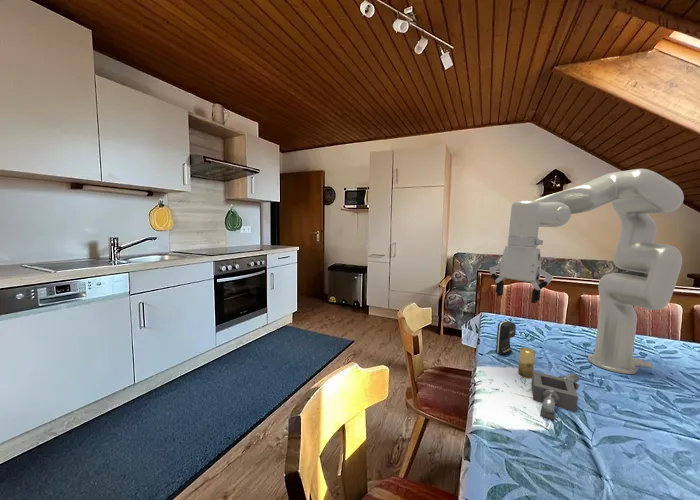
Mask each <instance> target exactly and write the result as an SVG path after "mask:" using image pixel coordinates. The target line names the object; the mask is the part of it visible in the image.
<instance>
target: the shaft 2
mask: <svg viewBox="0 0 700 500" xmlns="http://www.w3.org/2000/svg"><path fill="white" fill-rule="evenodd" d="M558 377H560V378H563V379H565V380H572V382H573V385H574V387H575V390H579V386H580V384H579V383H578V382H579V381H580V378H579V377H580V376H578V375H577V374H576V373H574V372H573V373H569V374H566V375H560V376H558Z"/></svg>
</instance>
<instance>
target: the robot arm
mask: <svg viewBox="0 0 700 500" xmlns="http://www.w3.org/2000/svg"><path fill="white" fill-rule="evenodd" d="M684 198H685V196H684V192H683V190H682V189H681V187H680V186H679V185H677V184H676V183H674V182H673V181H671V180H669V179H668V178H666V177H665V176H663V175H661V174H659V173H658V172H655V171H653V170H651V169H648V168H635V169H629V170H627V169H626V170H621V171H615V172H609V173H605V174H603V175H601V176H598V177H596V178H594V179H591V180H590V181H586V182H585V183H582V184H579V185H577V186H573V187H570V188H567V189H564V190H560V191H558V192H555V193H552V194H547V195H545V196H541V197H539V198H537V199H534V200H517V201H514V202H513V203H512V204H511V208H510V210H511V211H510V219H509V228H508V237H507V238H508V239H507V246H506V245H504V246H505V247H504V249H503V252H502V256H501V259H500V264H497V265H493V266H491V267H488V268H489V269H488V270H489V273H490V275H491V277H492V279H493V280H494V281H495V286H496V287H495V293H496V297H500V296H503V295H504V285H505V283H504V281H505V280H506V279H508V280H512V281H513V280H514V281H520V282H527V283H530V284H531V285H532V286H533V289H532V293H531V294H532V295H531V300H530V301H531V303H532V304H535V303H536V304H537V303H538V301H540V297H541V290H543V289H544V288H545V287H547V286H548V285H549V284H550V283H551V282H552V280H553V279H554V276H553V275H552V274H550V273H549V272H547V271H545V270H543V269H542V268H541V266H542V265H541V264H542V263H541V262H542V259H541V249H540V248H538V246H542V245H543V244H544V240H542V239H539V228H558V227H563V226H564V225H566V224H567V223H568V222H569V220H570V219H571V216H572V215H576V214H582V213H587V212H590V211H594V210H595V209H598V208H600V207H602V206H604V205H607V204H609V203H611V205H612V208H613V210H614V211H615V212H616V214H617V215H618V218H619V220H620V222H621V232H620V235H619V238H618V240H617V245H616V247H615V251H614V255H613V259H612V260H613V264H614V265H615V267H617V268H618V269H621V270H624V271H629V272H637V273H641V274H642V273H643V274H647V276H641V275H640V276H639V275H634V274H628V273H620V272H611V273H609V272H608V273H607V274H604V275H602V277H601V278H600V279H599V282H598V285H597V289H598V296H599V312H598V320H597V329H596V336H595V345H594V353H590V354H588V355H587V359H588V361H589V363H591V364H593V365H595V366H597V367H599V368H601V369H604V370H607V371H611V372H615V373H617V374H618V373H619V374H624V375H634V374H636V373H638V370H639V369H638V368H639V367H641V368H645V369H649V370H652V369H653V363H652V362H648V361H644V359H641V358H636V357H634V347H635V340H636V339H635V338H636V334H637V333H636V332H637V325H638V315H637V313H636V310H635V308H634V307H633V306H635V307H638V308H643V309H647V310H651V311H658V310H659V311H660V310H662V309H664V308H666V307H667V306H668V304H669V303H670V301H671V300H672V297H673V294H674V290H675V288H676V285H677V283H678V278H679V275H680V272H681V269H682V265H683V256H682V253H681V251H680V250H679V248H677V246H673V245H672V244H665V243H655V241H656V238H657V235H658V226H657V223H656V222H655V221H654V219H653V218H652V217H651V216H650V215H649V214H667V213H672V212H674V211H676V210H678V209H679V208H681V206H682V205H683V203H684V200H685V199H684ZM497 270H499V275H498V273H497V272H496V271H497ZM541 276H542V277H544V278H545V279H544V280H543V281H542V282H541V283H540V279H541Z"/></svg>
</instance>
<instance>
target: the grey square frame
mask: <svg viewBox="0 0 700 500" xmlns="http://www.w3.org/2000/svg"><path fill="white" fill-rule="evenodd" d="M530 383H531V394H532V395H531V396H532V400H533V401H535V402H537V403H538V402H539V403H542V404H543V401H544V400H543V398H542V394H543V391H544V390H546V389H551V390H554V391H555V392H557V393H558V395H559V397H560V400H559V403H558V404H557V405H555V408H560V409H563V410H567V411H571V412H575V413H577V409H578V400H579V396H578V393H577V391H576V390H575V387H574V385H573V382H572V380H565V379H563V378H560V377H559V376H554V375H551V374H546V373H542V372H538V371H533V373H532V378H531V382H530Z"/></svg>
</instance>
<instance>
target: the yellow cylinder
mask: <svg viewBox="0 0 700 500" xmlns="http://www.w3.org/2000/svg"><path fill="white" fill-rule="evenodd" d="M535 359H536V351H535V350H534V349H532V348H530V347H525V346H524V347H519V359H518V361H519V362H518V367H517V368H518V369H517V375H518V376H520V377H521V378H524V377H525V378H524V379H532V373H533V371H534V369H535ZM534 372H535V371H534Z"/></svg>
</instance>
